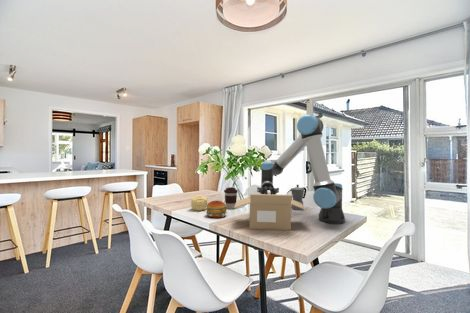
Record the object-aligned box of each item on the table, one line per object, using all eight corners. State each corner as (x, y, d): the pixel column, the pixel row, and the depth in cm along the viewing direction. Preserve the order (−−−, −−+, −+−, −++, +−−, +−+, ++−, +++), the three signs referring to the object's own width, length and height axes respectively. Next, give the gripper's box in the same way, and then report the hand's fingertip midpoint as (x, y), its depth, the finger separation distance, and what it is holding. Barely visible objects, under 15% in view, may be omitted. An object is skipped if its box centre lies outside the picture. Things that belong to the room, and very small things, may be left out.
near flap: (292, 194, 119) (292, 195, 119) (290, 203, 126) (290, 204, 125) (250, 193, 121) (250, 194, 120) (250, 202, 127) (250, 203, 127)
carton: (298, 217, 152) (298, 195, 152) (307, 230, 125) (307, 204, 125) (237, 215, 155) (237, 193, 155) (233, 228, 128) (233, 202, 128)
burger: (201, 216, 153) (201, 200, 153) (216, 212, 163) (216, 198, 163) (216, 220, 144) (216, 203, 144) (231, 215, 154) (231, 200, 154)
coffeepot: (294, 211, 168) (295, 186, 167) (286, 208, 176) (286, 184, 176) (310, 209, 175) (311, 184, 175) (301, 206, 183) (301, 183, 183)
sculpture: (191, 212, 163) (191, 196, 163) (190, 208, 174) (190, 193, 174) (208, 211, 165) (208, 196, 165) (206, 207, 177) (206, 193, 177)
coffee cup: (235, 210, 170) (236, 189, 170) (222, 209, 172) (222, 188, 172) (238, 207, 180) (238, 187, 180) (225, 206, 182) (225, 186, 182)
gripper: (278, 194, 145) (281, 202, 122) (256, 193, 147) (256, 201, 123) (278, 182, 145) (282, 188, 122) (257, 181, 146) (256, 187, 123)
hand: (269, 194), depth 122 cm, fingers closed
